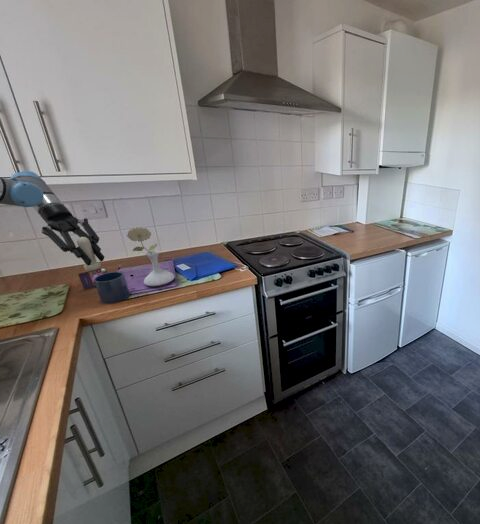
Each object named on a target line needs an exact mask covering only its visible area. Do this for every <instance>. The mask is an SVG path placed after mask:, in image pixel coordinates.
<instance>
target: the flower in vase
mask: <svg viewBox="0 0 480 524" xmlns="http://www.w3.org/2000/svg"><path fill="white" fill-rule="evenodd" d="M126 237H127V238H128V239H129V240H130V241H133V242H140V243H141V246H135V247H134V248H133V249H132V252H142V251H144V250H145V251H147V252H145V253H144V255H145V256H147V258H149V260H150V262H151V264H152V270H151V271H150V273H149V274H147V275H146V277H145V278H144V279H143V284H144V285H145V286H148V287H159V286H164V285H167V284H169V283H171V282H172V281H173V280H175V274H173V272H171V271H169V270H165V269H163V268H162V267H160V264H159V254H160V251H159V250H154V249H156V247H157V246H158V243H155V244H152V245H151V246H150V247H149V249H147V248H146V247H145V246H144V243H143V242H144V241H147V240H148V239H151V237H152V232H151V231H150V230H149V229H148V228H146V227H145V228H144V227H142V226H140V227H138V226H135V227H132V228H131V229H129V230H128V231H127V235H126Z"/></svg>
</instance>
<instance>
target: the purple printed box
mask: <svg viewBox="0 0 480 524" xmlns="http://www.w3.org/2000/svg"><path fill="white" fill-rule="evenodd" d="M101 272H102V273H101ZM90 273H92V274H93V276H92V277H91V275H90ZM106 273H108V270H107V268H106V267H100V268H96V269H92V270H87V271H84V272H80V273H78V274H77V275H78V277H79V280H80V284H81V285H82V288H83V290H89V289H92V288H95V287H96V286H95V283H94V279H95V278H96V277H97V276H100V275H102V274H106Z"/></svg>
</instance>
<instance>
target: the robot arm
mask: <svg viewBox="0 0 480 524" xmlns="http://www.w3.org/2000/svg"><path fill="white" fill-rule="evenodd" d="M0 205H7V206H8V205H9V206H15V207H22V208H33V209H34V211H35V212H36V213H37V214H38V215H39V216H40V218H42V220H43V221H44V222H45V223H46V224H47V225H46V226H42V227H41V234H43V235H45V236H47V237H49V239H50V240H51V242H53V243H54V244H55V245H56V246H57V247H58V248H59V249H60V250H61V251H62V252H64V253H67V252H69V253H71V254H73V255H74V256H75V257H76V258H77V259H80V258H81V260H82V261H83V262H85V263H86V264H87V265H88V266H89V265H90V264H91V259H90V258H89V257H88V256H87V255H86V254H85V252H84V251H83V250H82V249H81V248H80V247H78V246H76V244H75V242H74V240H73V238H72V237H71V235H70V233H71V232H72V233H73V234H74V235H77V236H78V238H80V237H86V238H88V239H89V241H90V243H91V246H92V249H93V252H94V255H95V257H96V259H97V260H99V261H100V262H103V261H104V259H105V256H104V254H103V253H102V252H101V251H102V248H101V247H100V246H99V245H98V243H99V242H100V237H99V236H98V234H97V233H96V232H95V230H94V229H93V227H92V226H91V225H90V223H89V219H88V218H83V219H79V218H77V217H76V216H74V215H73V213H72V212H71V211H70V210H69V208H67V206H65V204H64V203H63V202H62V200H61V199H60V198H59V197H58V196H57V195H56V194H55V193H54V192H53V190H52V189H51V188H50V187H49V185H48V184H47V182H46V181H45V180H43V178H42V177H41V176H39V174H37V173H36V172H34V171H32V170H31V171H30V170H21V171H20V172H19V171H17V172H14V173H12V175H10V177H9V178H5V177H0ZM78 224H80V226H79V225H78ZM81 227H82V228H83V229H84V230H83V229H82V228H81ZM56 232H58V233H59V234H60V236H61V237H62V238H63V239H62V238H61V237H60V236H59V235H58V234H57V233H56ZM85 263H84V264H85Z"/></svg>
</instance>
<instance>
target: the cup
mask: <svg viewBox="0 0 480 524" xmlns="http://www.w3.org/2000/svg"><path fill="white" fill-rule="evenodd" d="M101 274H102V275H100V276H97V277H96V278H95V279H94V283H93V284H94V286H96V288H95V289H96V291H97V293H98V296H99V300H100V301H101V303H102V304H114V303H119V302H121V301H124V300H127V299H128V297H130V295H131V292H130V289H129V285H128V283H127V280H126V277H125V274H124V273H123V272H122V271H121V272H120V271H109V272H107V273H106V274H103V273H101Z"/></svg>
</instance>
